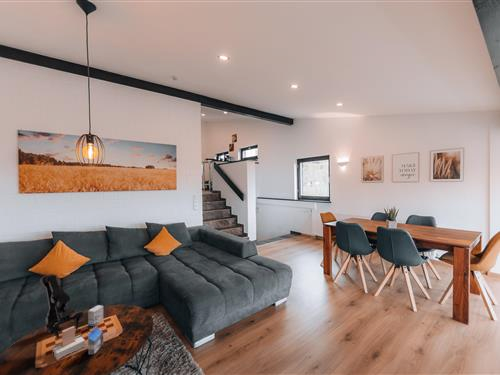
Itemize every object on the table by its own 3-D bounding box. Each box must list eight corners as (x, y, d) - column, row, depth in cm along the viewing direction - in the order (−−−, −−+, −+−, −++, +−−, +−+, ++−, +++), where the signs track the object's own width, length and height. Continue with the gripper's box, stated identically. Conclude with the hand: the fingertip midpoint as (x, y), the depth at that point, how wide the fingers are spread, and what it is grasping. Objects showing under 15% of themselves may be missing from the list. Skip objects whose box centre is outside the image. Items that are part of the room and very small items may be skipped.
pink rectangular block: (62, 351, 143) (61, 330, 142) (74, 346, 147) (73, 325, 147) (63, 353, 141) (62, 332, 141) (75, 347, 146) (74, 327, 146)
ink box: (93, 328, 165) (93, 311, 165) (88, 327, 166) (87, 310, 166) (103, 320, 174) (103, 305, 173) (98, 320, 175) (97, 304, 174)
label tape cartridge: (94, 354, 140) (94, 334, 140) (87, 354, 140) (87, 334, 140) (103, 344, 149) (103, 325, 149) (97, 344, 149) (97, 325, 149)
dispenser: (52, 353, 141) (52, 346, 141) (80, 340, 152) (80, 334, 152) (57, 360, 136) (56, 352, 136) (85, 346, 147) (85, 339, 147)
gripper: (45, 311, 140) (51, 337, 134) (82, 299, 155) (88, 321, 148) (42, 319, 145) (47, 344, 139) (78, 306, 160) (84, 328, 153)
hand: (68, 334), depth 145 cm, fingers open, 9 cm apart
